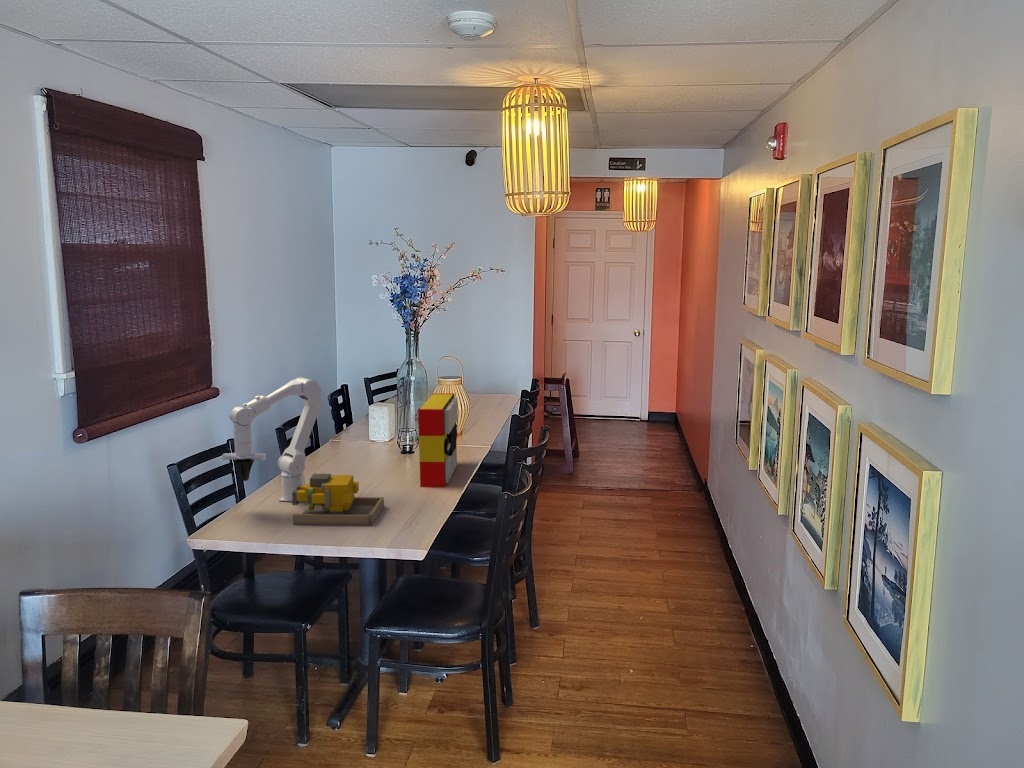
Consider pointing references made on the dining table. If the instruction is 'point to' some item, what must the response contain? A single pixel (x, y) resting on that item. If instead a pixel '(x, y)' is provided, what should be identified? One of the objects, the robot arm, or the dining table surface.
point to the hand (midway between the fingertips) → (245, 480)
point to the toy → (328, 493)
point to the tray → (358, 515)
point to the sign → (437, 439)
